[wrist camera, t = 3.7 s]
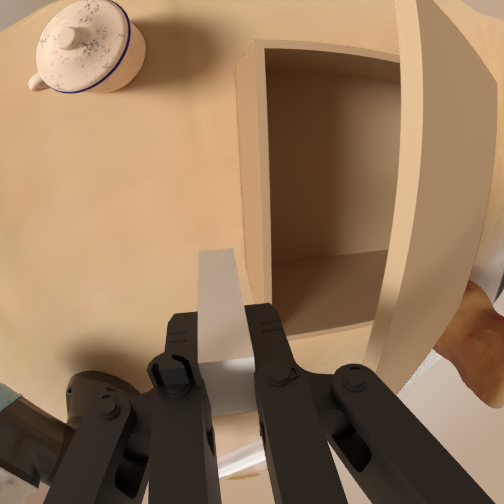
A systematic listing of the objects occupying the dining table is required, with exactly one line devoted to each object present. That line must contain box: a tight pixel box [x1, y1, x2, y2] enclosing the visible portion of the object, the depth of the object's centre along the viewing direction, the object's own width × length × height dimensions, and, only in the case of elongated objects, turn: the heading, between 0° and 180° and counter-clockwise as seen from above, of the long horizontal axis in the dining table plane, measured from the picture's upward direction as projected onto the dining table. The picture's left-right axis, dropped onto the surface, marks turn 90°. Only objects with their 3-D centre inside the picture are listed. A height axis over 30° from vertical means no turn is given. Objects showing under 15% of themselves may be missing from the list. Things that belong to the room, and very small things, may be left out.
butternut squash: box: [432, 280, 504, 408], centre depth 36 cm, size 14×13×25 cm
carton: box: [235, 40, 401, 341], centre depth 28 cm, size 24×22×14 cm
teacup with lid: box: [29, 0, 146, 93], centre depth 20 cm, size 12×9×12 cm
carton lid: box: [362, 0, 497, 395], centre depth 17 cm, size 25×22×1 cm
